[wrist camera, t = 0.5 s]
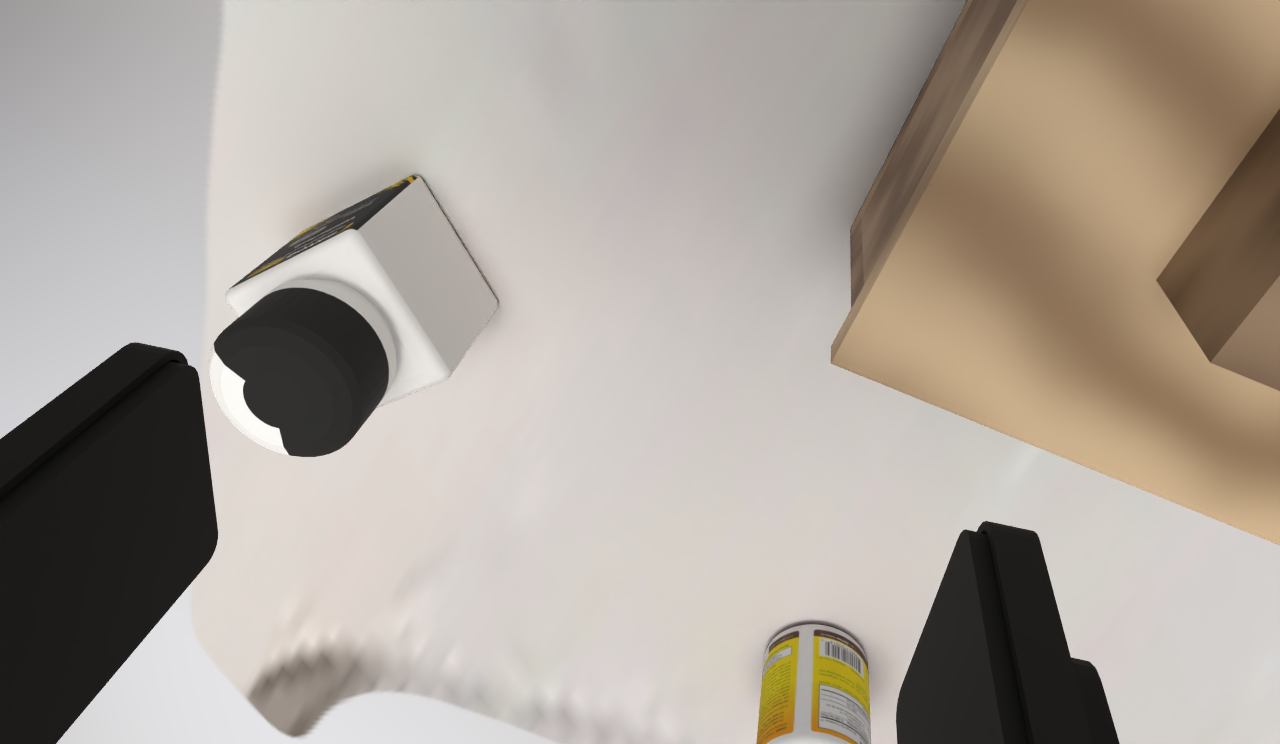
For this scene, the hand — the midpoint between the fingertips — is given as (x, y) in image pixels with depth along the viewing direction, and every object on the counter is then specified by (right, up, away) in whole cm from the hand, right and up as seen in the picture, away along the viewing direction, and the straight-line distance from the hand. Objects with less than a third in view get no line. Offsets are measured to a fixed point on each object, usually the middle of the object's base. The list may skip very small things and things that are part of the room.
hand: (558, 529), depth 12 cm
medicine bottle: (-10, +7, +34) cm, 36 cm away
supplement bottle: (+11, -13, +42) cm, 45 cm away
